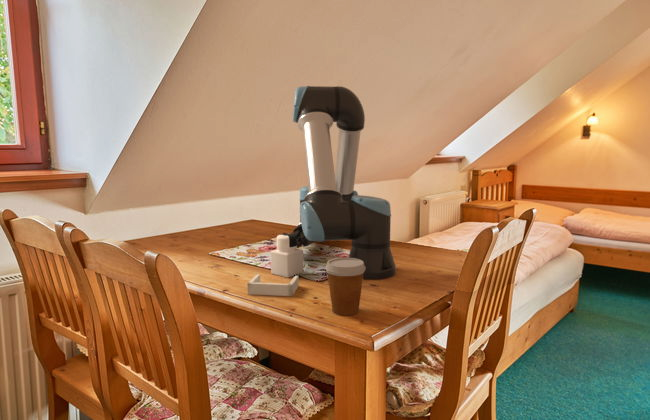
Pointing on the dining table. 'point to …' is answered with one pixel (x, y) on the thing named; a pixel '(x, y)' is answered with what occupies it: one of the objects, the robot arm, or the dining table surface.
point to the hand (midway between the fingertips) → (290, 247)
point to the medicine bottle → (286, 257)
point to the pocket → (272, 287)
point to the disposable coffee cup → (345, 284)
